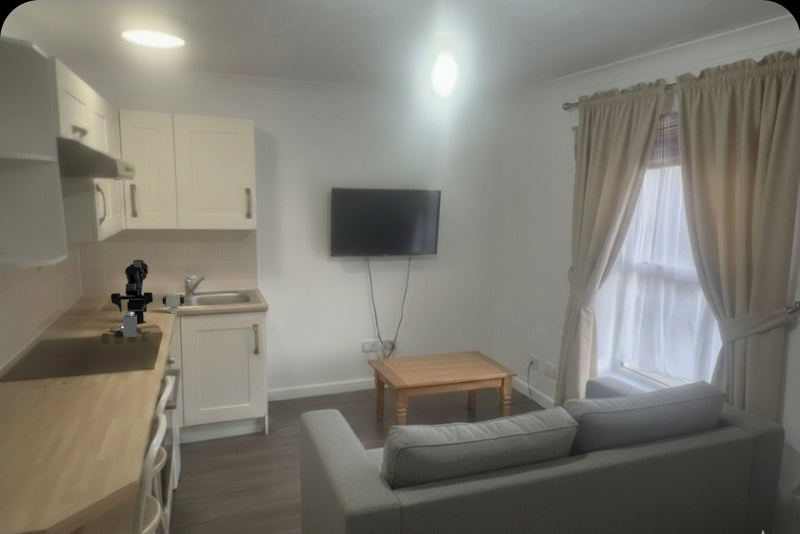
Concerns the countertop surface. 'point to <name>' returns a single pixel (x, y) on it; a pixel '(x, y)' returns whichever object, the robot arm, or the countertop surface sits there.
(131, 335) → the housing
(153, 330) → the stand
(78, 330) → the countertop surface
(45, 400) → the countertop surface
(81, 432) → the countertop surface
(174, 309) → the pneumatic valve
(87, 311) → the countertop surface
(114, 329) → the bolt
